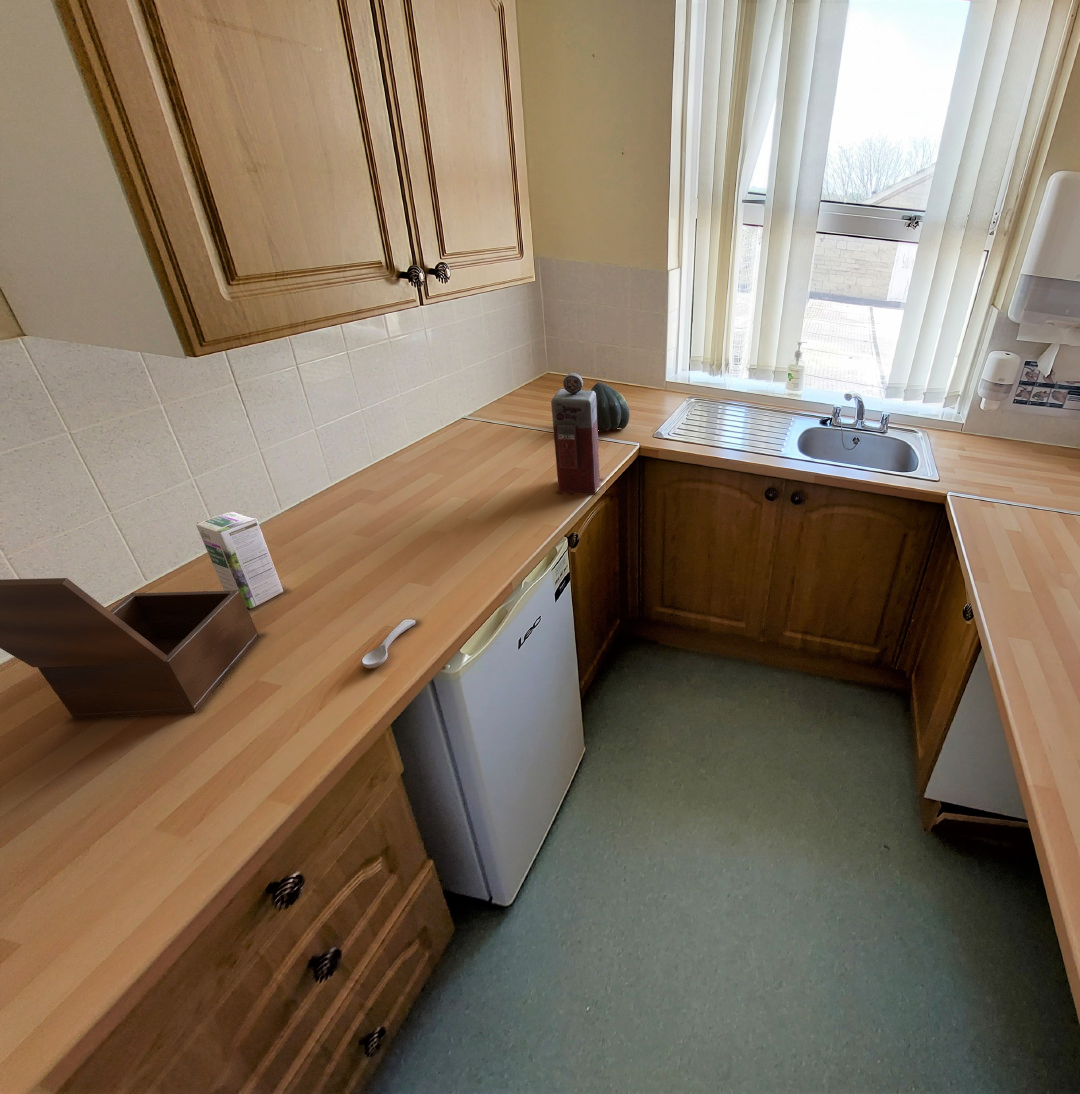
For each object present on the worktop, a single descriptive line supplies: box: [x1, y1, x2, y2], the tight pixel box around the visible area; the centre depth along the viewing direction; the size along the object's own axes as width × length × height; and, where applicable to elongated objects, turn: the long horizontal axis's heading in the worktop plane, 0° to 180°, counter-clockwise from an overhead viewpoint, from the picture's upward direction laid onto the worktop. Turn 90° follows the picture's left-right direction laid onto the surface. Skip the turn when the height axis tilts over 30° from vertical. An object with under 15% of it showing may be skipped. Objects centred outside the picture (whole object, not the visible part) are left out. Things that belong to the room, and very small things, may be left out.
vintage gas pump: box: [550, 372, 601, 495], centre depth 136 cm, size 9×11×28 cm
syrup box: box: [195, 511, 284, 609], centre depth 93 cm, size 6×6×14 cm
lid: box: [0, 577, 167, 668], centre depth 63 cm, size 16×14×1 cm
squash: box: [589, 381, 631, 433], centre depth 180 cm, size 14×15×15 cm
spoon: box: [361, 618, 416, 669], centre depth 88 cm, size 3×12×2 cm, turn 178°
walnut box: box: [37, 590, 260, 720], centre depth 78 cm, size 16×14×9 cm
